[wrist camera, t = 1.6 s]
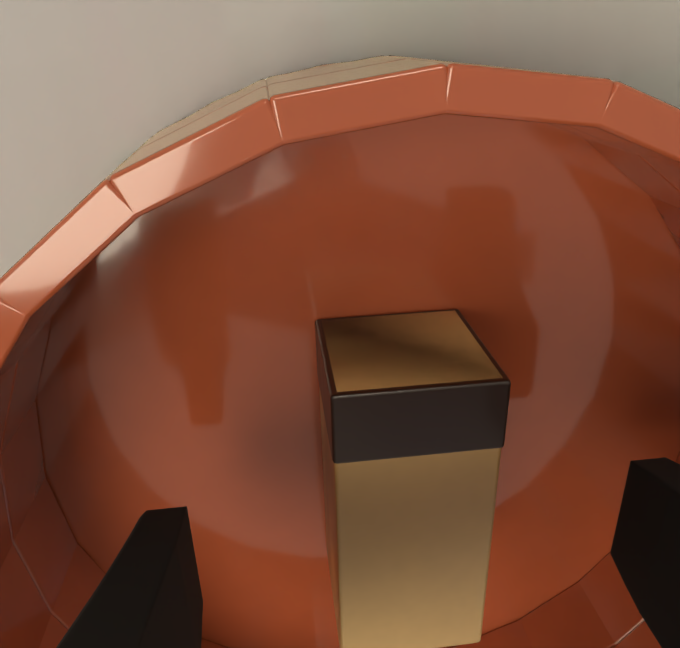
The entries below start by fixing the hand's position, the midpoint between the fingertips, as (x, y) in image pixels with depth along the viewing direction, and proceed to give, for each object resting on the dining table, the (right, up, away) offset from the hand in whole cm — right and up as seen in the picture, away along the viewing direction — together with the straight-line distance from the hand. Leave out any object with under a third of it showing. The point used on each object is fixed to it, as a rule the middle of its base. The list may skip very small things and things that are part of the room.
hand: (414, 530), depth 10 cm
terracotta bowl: (0, +1, +3) cm, 3 cm away
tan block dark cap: (0, +1, +2) cm, 3 cm away
